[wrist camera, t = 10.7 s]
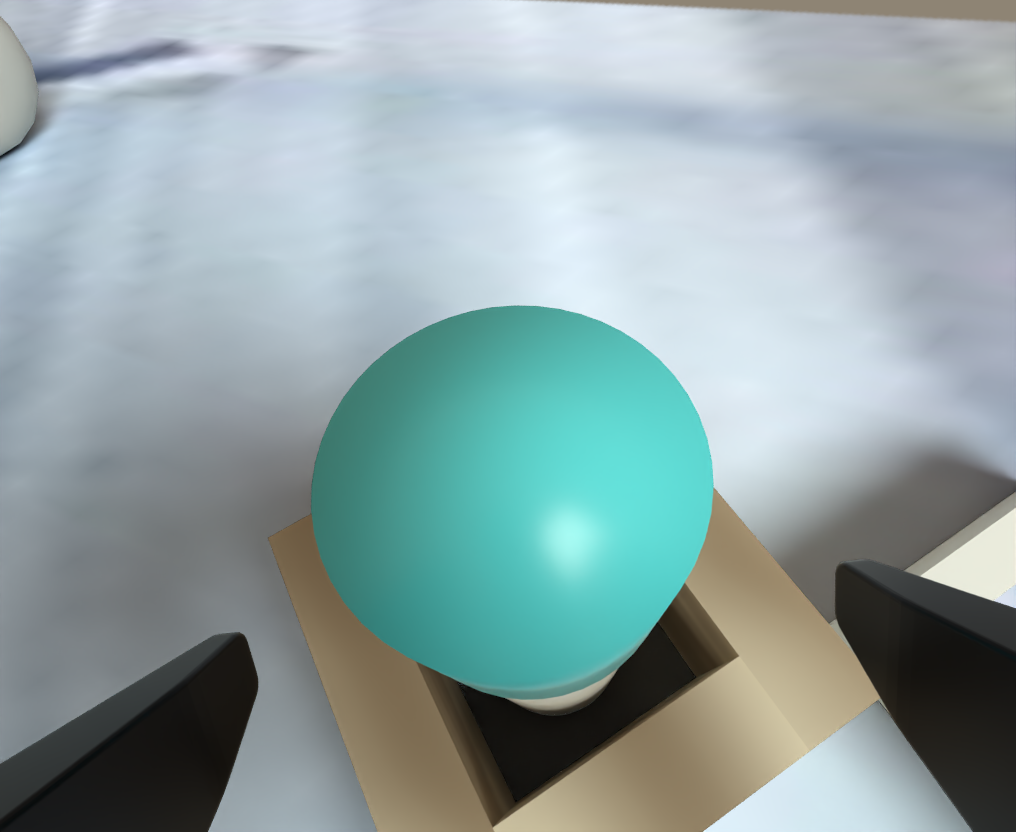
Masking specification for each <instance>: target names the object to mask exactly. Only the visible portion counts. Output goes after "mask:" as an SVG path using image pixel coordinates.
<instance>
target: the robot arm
mask: <svg viewBox="0 0 1016 832" xmlns="http://www.w3.org/2000/svg"><path fill="white" fill-rule="evenodd" d="M835 615H836V619H837V623H838V625H839V627H840V629H841V631H842V633H843V635H844V636H845V638H846V640H847V642H848V643H849V645H850V647H851V648H852V650H853V652H854V654H855V655H856V657H857V659H858V661H859V662H860V664H861V666H862V667H863V669H864V671H865V673H866V674H867V676H868V678H869V679H870V681H871V683H872V685H873V686H874V688H875V690H876V692H877V693H878V695H879V697H880V698H881V700H882V702H883V704H884V705H885V707H886V709H887V710H888V712H889V714H890V715H891V717H892V718H893V720H894V722H895V723H896V725H897V726H898V728H899V729H900V731H901V732H902V733H903V735H904V736H905V738H906V739H907V741H908V742H909V743H910V745H911V746H912V748H913V749H914V750H915V752H916V753H917V755H918V756H919V757H920V759H921V760H922V762H923V763H924V764H925V766H926V767H927V769H928V770H929V771H930V773H931V774H932V775H933V777H934V778H935V780H936V781H937V782H938V784H939V785H940V787H941V788H942V789H943V791H944V792H945V794H946V795H947V796H948V798H949V799H950V800H951V802H952V803H953V805H954V806H955V807H956V809H957V810H958V812H959V813H960V814H961V816H962V817H963V819H964V820H965V821H966V823H967V824H968V825H969V827H970V828H971V830H972V831H973V832H1016V608H1013V607H1010V606H1007V605H1004V604H1001V603H998V602H995V601H992V600H989V599H986V598H983V597H980V596H977V595H974V594H971V593H968V592H965V591H962V590H959V589H956V588H953V587H950V586H947V585H944V584H941V583H938V582H935V581H933V580H930V579H927V578H924V577H921V576H918V575H915V574H912V573H909V572H906V571H903V570H900V569H897V568H894V567H891V566H888V565H885V564H882V563H879V562H876V561H873V560H869V559H860V560H852V561H844V562H841V563H840V564H839V565H838V566H837V568H836V573H835ZM257 691H258V676H257V672H256V669H255V665H254V662H253V658H252V655H251V652H250V648H249V645H248V642H247V639H246V637H245V636H244V635H243V634H241V633H240V632H234V633H226V634H217V635H214V636H212V637H210V638H208V639H207V640H205V641H203V642H202V643H200V644H198V645H197V646H195V647H194V648H192V649H190V650H189V651H187V652H185V653H184V654H182V655H180V656H179V657H177V658H175V659H174V660H172V661H170V662H169V663H167V664H165V665H164V666H162V667H160V668H159V669H157V670H155V671H154V672H152V673H150V674H149V675H147V676H145V677H144V678H142V679H140V680H139V681H137V682H135V683H134V684H132V685H130V686H129V687H127V688H125V689H124V690H122V691H120V692H119V693H117V694H115V695H114V696H112V697H110V698H109V699H107V700H105V701H104V702H102V703H101V704H99V705H97V706H96V707H94V708H92V709H91V710H89V711H87V712H86V713H84V714H82V715H81V716H79V717H77V718H76V719H74V720H72V721H71V722H69V723H67V724H66V725H64V726H62V727H61V728H59V729H57V730H56V731H54V732H52V733H51V734H49V735H47V736H46V737H44V738H42V739H41V740H39V741H37V742H36V743H34V744H32V745H31V746H29V747H27V748H26V749H24V750H22V751H21V752H19V753H17V754H16V755H14V756H13V757H11V758H9V759H8V760H6V761H4V762H3V763H1V764H0V832H208V830H209V828H210V826H211V823H212V821H213V819H214V816H215V814H216V812H217V809H218V807H219V804H220V802H221V799H222V797H223V795H224V792H225V789H226V786H227V784H228V781H229V778H230V775H231V772H232V769H233V766H234V763H235V760H236V757H237V754H238V751H239V748H240V745H241V741H242V738H243V735H244V732H245V729H246V726H247V723H248V720H249V717H250V714H251V711H252V708H253V705H254V702H255V699H256V696H257Z"/></svg>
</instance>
